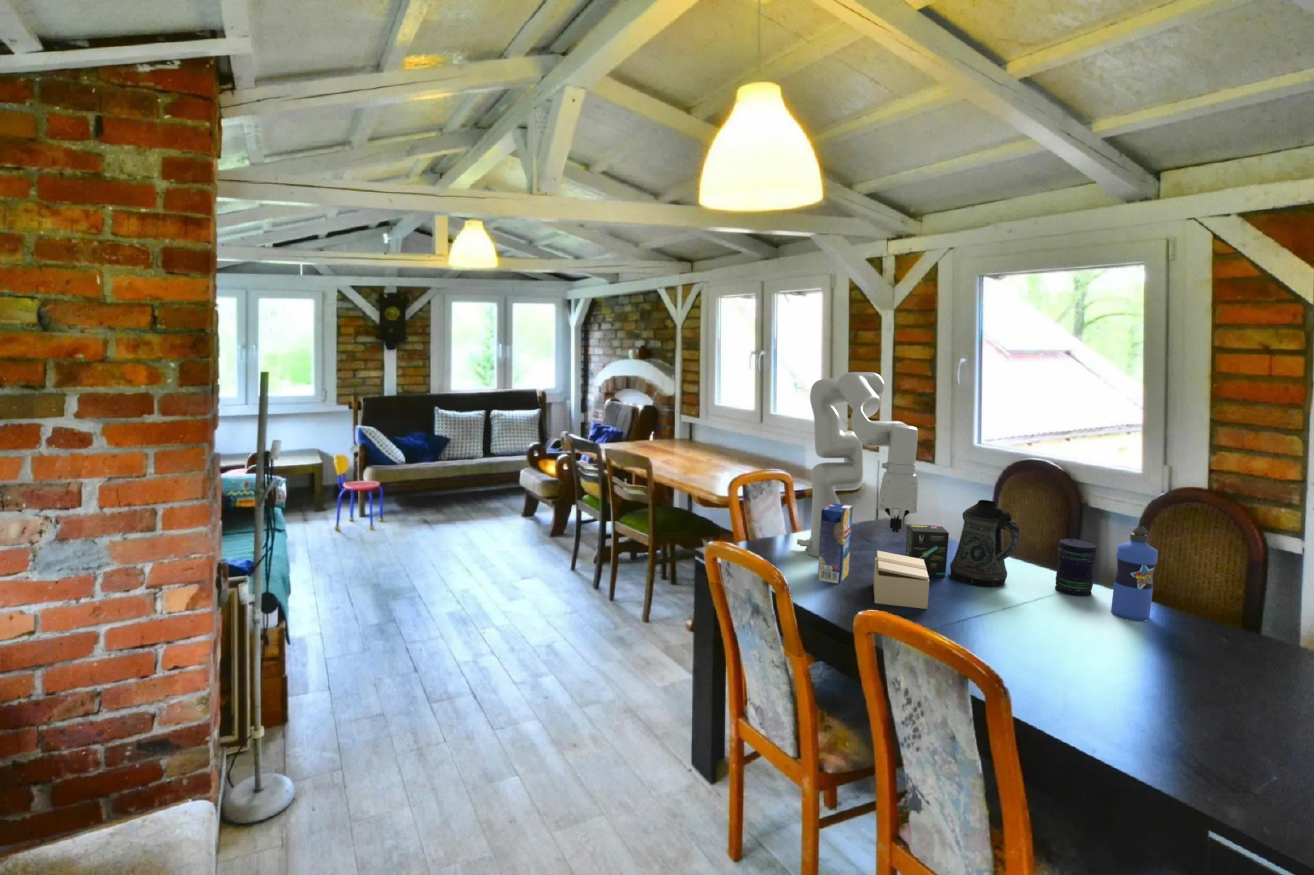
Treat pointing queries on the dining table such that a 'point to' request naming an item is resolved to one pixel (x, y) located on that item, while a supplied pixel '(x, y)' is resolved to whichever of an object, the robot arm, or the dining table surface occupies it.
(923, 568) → the lid
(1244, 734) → the dining table surface
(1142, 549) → the water bottle
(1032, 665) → the dining table surface
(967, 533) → the beer stein
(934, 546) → the tampon box
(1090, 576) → the storage jar
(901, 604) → the carton
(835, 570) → the beverage box
